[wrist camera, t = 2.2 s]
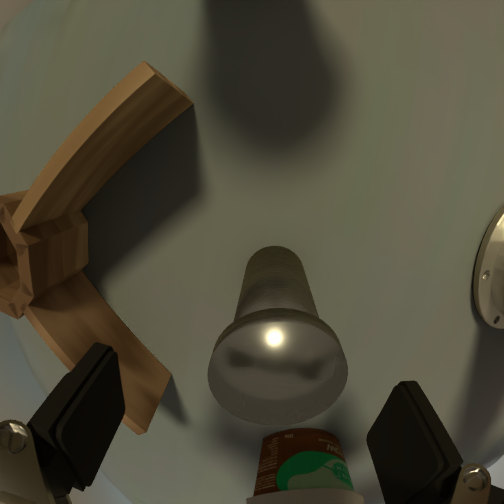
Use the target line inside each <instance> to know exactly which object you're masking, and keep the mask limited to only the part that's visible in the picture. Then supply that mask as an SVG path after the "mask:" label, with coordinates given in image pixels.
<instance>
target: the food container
mask: <svg viewBox="0 0 504 504" xmlns="http://www.w3.org/2000/svg"><path fill="white" fill-rule="evenodd" d="M246 501H247V504H364V498H363V497H362V495H360V494H359V493H356V492H354V489H353V485H352V482H351V479H350V475H349V472H348V469H347V465H346V462H345V459H344V455H343V452H342V449H341V446H340V443H339V440H338V439H337V438H336V437H335V435H333V434H331V433H329V432H327V431H324V430H320V429H313V428H298V429H290V430H285V431H281V432H277V433H274V434H272V435H269V436H267V437H265V438H263V443H262V449H261V455H260V461H259V467H258V473H257V478H256V484H255V489H254V495H253V497H250V498H247V499H246Z"/></svg>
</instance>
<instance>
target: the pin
mask: <svg viewBox="0 0 504 504" xmlns="http://www.w3.org/2000/svg"><path fill="white" fill-rule="evenodd" d="M347 376H348V366H347V361H346V358H345V355H344V352H343V350H342V347H341V344H340V341H339V339H338V337H337V335H336V334H335V332H334V331H333V330H332V329H331V327H330V326H329V325H327V324H326V323H325V322H324V321H322V320H321V319H319V316H318V313H317V310H316V306H315V303H314V300H313V297H312V293H311V290H310V287H309V284H308V281H307V278H306V274H305V271H304V268H303V265H302V263H301V261H300V259H299V257H298V256H297V255H296V254H295V253H294V252H292V251H291V250H289V249H287V248H284V247H281V246H269V247H265V248H263V249H260V250H259V251H257V252H256V253H255V254H254V255H253V256H252V257H251V258H250V260H249V261H248V263H247V266H246V270H245V275H244V279H243V283H242V288H241V292H240V296H239V301H238V305H237V309H236V314H235V318H234V322H233V323H231V324H230V325H229V326H228V327H227V328H226V329H225V330H224V331H223V332H222V334H221V335H220V336H219V338H218V340H217V341H216V344H215V347H214V349H213V353H212V356H211V359H210V363H209V367H208V382H209V386H210V389H211V391H212V393H213V395H214V397H215V398H216V400H217V401H218V402H219V403H220V404H221V405H222V406H223V407H224V408H225V409H226V410H228V411H229V412H230V413H232V414H234V415H235V416H237V417H239V418H241V419H244V420H247V421H249V422H253V423H257V424H263V425H288V424H294V423H298V422H302V421H305V420H308V419H310V418H313V417H315V416H316V415H318V414H320V413H322V412H323V411H325V410H326V409H327V408H329V407H330V406H331V405H332V404H333V403H334V402H335V401H336V400H337V399H338V397H339V396H340V394H341V393H342V391H343V389H344V387H345V384H346V381H347Z"/></svg>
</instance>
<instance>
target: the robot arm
mask: <svg viewBox="0 0 504 504" xmlns="http://www.w3.org/2000/svg"><path fill="white" fill-rule="evenodd" d="M473 284H474V300H475V305H476V308H477V310H478V313H479V315H480V316H481V317H482V319H483V320H484V321H485V322H486V323H488V324H489V325H490V326H492V327H494V328H496V329H504V206H503V207H502V208H501V209H500V210H499V212H498V213H497V214H496V216H495V217H494V218H493V220H492V222H491V224H490V226H489V227H488V229H487V232H486V234H485V236H484V239H483V241H482V244H481V247H480V250H479V253H478V257H477V262H476V266H475V273H474V282H473ZM125 409H126V407H125V401H124V395H123V389H122V382H121V375H120V368H119V360H118V354H117V352H115V351H114V350H113V347H112V346H109V345H106V344H102V343H99V342H95V343H94V344H93V345H92V346H91V347H90V349H89V350H88V351H87V352H86V353H85V355H84V356H83V357H82V358H81V359H80V361H79V362H78V363H77V364H76V366H75V367H74V368H73V369H72V370H71V372H69V373H67V374H66V375H65V376H64V377H63V378H62V379H61V381H60V382H59V383H58V384H57V386H56V387H55V388H54V389H53V391H52V392H51V393H50V395H49V396H48V397H47V398H46V400H45V401H44V402H43V404H42V405H41V406H40V407H39V409H38V410H37V411H36V413H35V414H34V415H33V417H32V418H31V419H30V421H29V422H28V423H27V425H25V424H23V423H22V422H20V421H17V420H5V421H2V422H0V504H72V502H71V500H70V497H69V495H68V494H69V493H70V491H71V489H72V487H74V488H76V489H78V490H81V491H84V489H85V487H86V486H88V487H89V486H91V485H92V483H93V480H94V478H95V476H96V474H97V472H98V470H99V467H100V465H101V463H102V461H103V459H104V457H105V454H106V452H107V450H108V448H109V446H110V444H111V442H112V440H113V437H114V435H115V433H116V431H117V429H118V427H119V425H120V423H121V421H122V419H123V417H124V414H125ZM366 441H367V445H368V448H369V451H370V454H371V457H372V460H373V464H374V467H375V470H376V473H377V477H378V480H379V483H380V487H381V490H382V493H383V497H384V500H385V504H504V489H501V488H498V487H496V486H493V485H491V477H490V474H489V472H488V471H487V469H486V468H485V467H483V466H482V465H480V464H476V463H470V464H467V465H465V466H464V467H463V468H461V466H460V465H461V464H462V463H463V460H462V458H461V456H460V454H459V452H458V450H457V449H456V447H455V445H454V443H453V441H452V440H451V438H450V436H449V434H448V433H447V431H446V429H445V427H444V426H443V424H442V422H441V420H440V419H439V417H438V415H437V414H436V412H435V410H434V409H433V407H432V405H431V404H430V402H429V400H428V399H427V397H426V395H425V394H424V392H423V391H422V389H421V387H420V386H419V384H418V383H417V382H416V381H401V382H400V383H399V384H398V385H396V386H395V387H394V388H393V390H392V392H391V394H390V396H389V398H388V400H387V401H386V403H385V405H384V407H383V409H382V410H381V412H380V414H379V416H378V417H377V419H376V421H375V422H374V424H373V426H372V427H371V429H370V431H369V432H368V434H367V438H366Z"/></svg>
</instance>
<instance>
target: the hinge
mask: <svg viewBox="0 0 504 504" xmlns="http://www.w3.org/2000/svg"><path fill="white" fill-rule="evenodd" d="M192 104H194V103H193V102H192V101H191V100H190V99H189V97H188V96H187V95H186V94H185V93H184V92H183V91H182V90H181V89H179V88H178V87H177V86H176V85H175V84H173V83H172V82H171V81H170V80H168V79H167V78H166V77H165V76H163V75H162V74H161V73H160V72H158V71H157V70H156V69H154V68H153V67H152V66H151V65H149V64H148V63H147V62H145V61H143V62H142V63H140V64H139V65H138V66H137V67H136V68H135V69H133V70H132V71H131V72H130V73H129V74H128V75H127V76H126V77H125V78H124V79H122V80H121V81H120V82H119V83H118V84H117V85H116V86H115V87H114V88H113V89H112V90H111V91H110V92H109V93H108V94H107V95H106V96H105V97H104V98H103V99H102V100H101V101H100V102H99V103H98V104H97V105H96V106H95V107H94V108H93V109H92V110H91V111H90V112H89V114H88V115H87V116H86V117H85V118H84V119H83V120H82V121H81V122H80V124H79V125H78V126H77V127H76V128H75V129H74V130H73V132H72V133H71V134H70V135H69V136H68V138H67V139H66V140H65V141H64V143H63V144H62V145H61V146H60V148H59V149H58V150H57V151H56V153H55V154H54V155H53V157H52V158H51V159H50V161H49V162H48V163H47V165H46V166H45V167H44V169H43V170H42V171H41V173H40V174H39V176H38V177H37V179H36V180H35V182H34V183H33V185H32V186H31V187H30V189H29V190H26V191H21V192H16V193H11V194H6V195H2V196H0V311H1V312H3V313H6V314H8V315H10V316H12V317H14V318H16V319H19V318H21V317H22V316H23V315H25V316H26V317H27V319H28V320H29V321H30V323H31V324H32V326H33V327H34V328H35V330H36V331H37V332H38V333H39V335H40V336H41V337H42V339H43V340H44V341H45V342H46V344H47V345H48V346H49V347H50V349H51V350H52V351H53V352H54V353H55V355H56V356H57V357H58V358H59V359H60V360H61V362H62V363H63V364H64V365H65V366H66V367H67V368H68V369H69V371H70V372H71V370H72V369H73V368H74V367H75V366H76V364H77V363H78V362H79V361H80V359H81V358H82V357H83V356H84V355H85V353H86V352H87V351H88V350H89V349H90V347H91V346H92V345H93V344H94V343H95V342H99V343H102V344H106V345H109V346H112V347H113V350H114V351H115V352H117V354H118V360H119V368H120V375H121V382H122V389H123V395H124V401H125V407H126V409H125V414H124V417H123V419H122V422H123V423H124V424H125V425H126V426H128V427H129V428H130V429H131V430H132V431H134V432H135V433H136V434H137V435H140V434H143V433H146V432H147V430H148V427H149V425H150V423H151V420H152V418H153V416H154V413H155V411H156V409H157V406H158V404H159V402H160V400H161V397H162V395H163V393H164V391H165V388H166V386H167V384H168V382H169V379H170V377H171V375H172V374H171V373H170V372H169V371H168V370H167V369H166V368H165V367H164V366H163V365H162V364H161V363H160V362H159V361H158V360H157V359H156V358H155V357H154V356H153V355H152V354H151V353H150V352H149V351H148V349H147V348H146V347H145V346H144V345H143V344H142V343H141V342H140V341H139V340H138V339H137V338H136V336H135V335H134V334H133V333H132V332H131V331H130V330H129V329H128V327H127V326H126V325H125V324H124V323H123V322H122V320H121V319H120V318H119V317H118V316H117V315H116V313H115V312H114V311H113V310H112V309H111V307H110V306H109V305H108V304H107V302H106V301H105V300H104V299H103V297H102V296H101V295H100V294H99V292H98V291H97V290H96V289H95V287H94V286H93V285H92V283H91V282H90V281H89V279H88V278H87V277H86V275H85V274H84V273H83V271H82V269H83V268H84V267H85V266H86V265H87V264H88V263H89V256H88V221H87V220H86V218H85V217H84V215H83V214H82V212H81V210H82V208H83V207H84V206H85V205H86V204H87V203H88V202H89V201H90V199H91V198H92V197H93V196H94V195H95V194H96V193H97V192H98V191H99V190H100V189H101V188H102V186H103V185H104V184H105V183H106V182H107V181H108V180H109V179H110V178H111V177H112V176H113V175H114V174H115V173H116V172H117V171H118V170H119V169H120V168H121V167H122V166H123V165H124V164H125V163H126V162H127V161H128V160H129V159H130V158H131V157H132V156H133V155H134V154H135V153H137V152H138V151H139V150H140V149H141V148H142V147H143V146H144V145H145V144H146V143H147V142H148V141H150V140H151V139H152V138H153V137H154V136H155V135H156V134H157V133H159V132H160V131H161V130H162V129H163V128H164V127H165V126H167V125H168V124H169V123H170V122H171V121H173V120H174V119H175V118H176V117H177V116H179V115H180V114H181V113H182V112H184V111H185V110H186V109H187V108H189V107H190V106H191V105H192Z"/></svg>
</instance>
